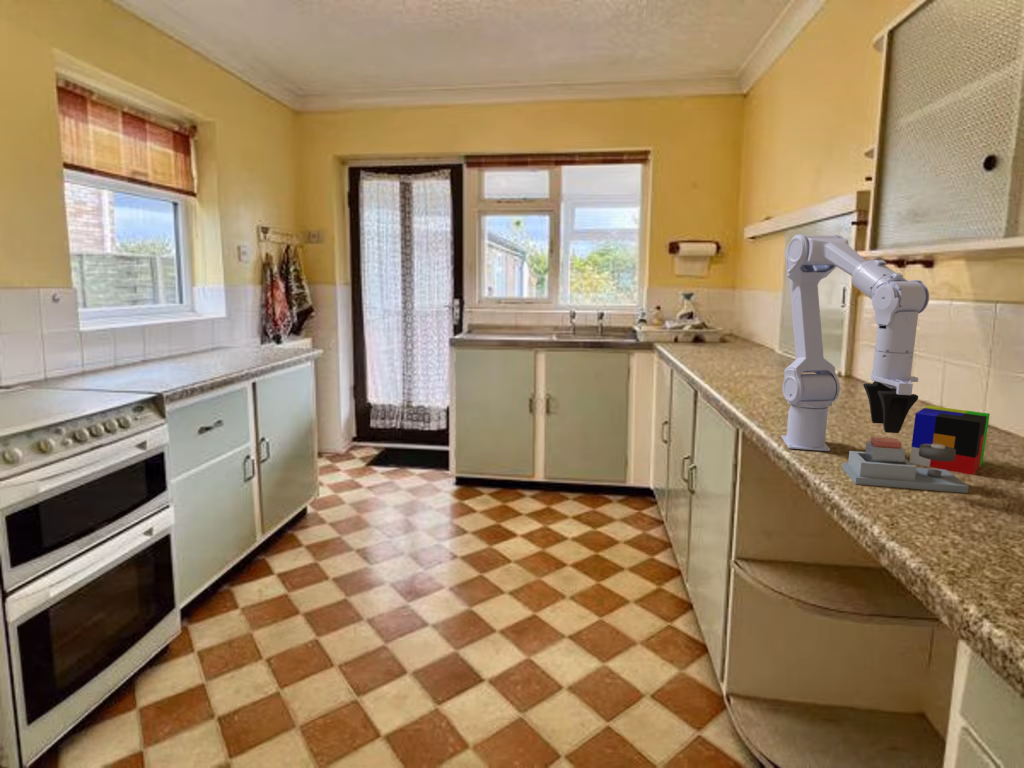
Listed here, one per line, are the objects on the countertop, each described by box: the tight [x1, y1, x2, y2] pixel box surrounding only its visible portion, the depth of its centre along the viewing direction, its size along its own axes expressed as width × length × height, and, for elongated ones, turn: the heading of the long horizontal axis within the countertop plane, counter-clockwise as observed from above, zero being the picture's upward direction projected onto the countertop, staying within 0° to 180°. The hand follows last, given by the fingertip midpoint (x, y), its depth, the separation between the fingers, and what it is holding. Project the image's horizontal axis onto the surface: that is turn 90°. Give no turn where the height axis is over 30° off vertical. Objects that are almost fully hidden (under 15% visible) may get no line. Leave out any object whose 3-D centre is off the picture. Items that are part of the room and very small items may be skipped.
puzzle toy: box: [909, 405, 990, 476], centre depth 117 cm, size 10×10×10 cm
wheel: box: [919, 444, 956, 461], centre depth 106 cm, size 5×5×2 cm
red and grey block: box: [864, 436, 906, 464], centre depth 108 cm, size 4×5×6 cm
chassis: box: [841, 450, 970, 494], centre depth 108 cm, size 9×17×4 cm, turn 75°
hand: (885, 427), depth 107 cm, fingers open, 6 cm apart
